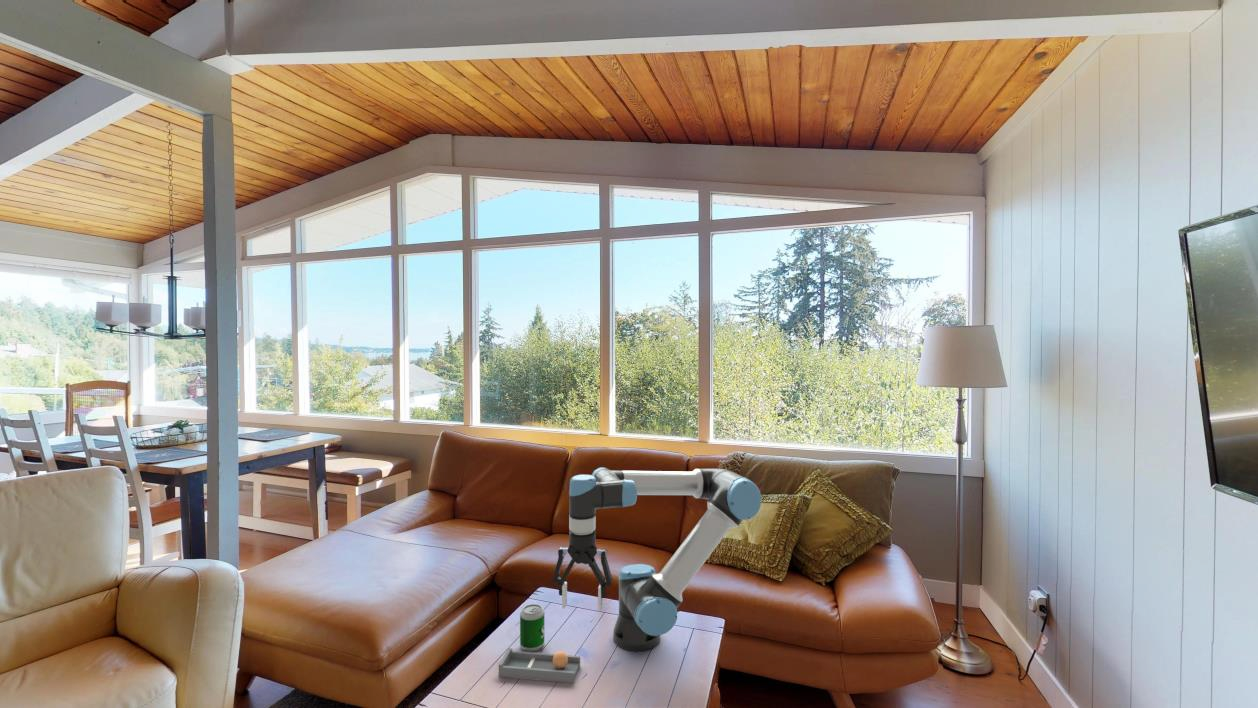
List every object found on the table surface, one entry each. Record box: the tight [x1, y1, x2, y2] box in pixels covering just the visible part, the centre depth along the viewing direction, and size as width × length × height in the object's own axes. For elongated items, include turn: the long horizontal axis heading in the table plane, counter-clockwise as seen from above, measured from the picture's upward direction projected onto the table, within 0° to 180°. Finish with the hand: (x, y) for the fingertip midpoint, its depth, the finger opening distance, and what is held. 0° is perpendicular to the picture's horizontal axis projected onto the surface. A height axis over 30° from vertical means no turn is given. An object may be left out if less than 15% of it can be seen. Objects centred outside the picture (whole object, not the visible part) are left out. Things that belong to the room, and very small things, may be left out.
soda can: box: [519, 603, 545, 653], centre depth 169 cm, size 8×8×12 cm
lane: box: [498, 647, 581, 684], centre depth 157 cm, size 22×8×4 cm, turn 83°
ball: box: [553, 650, 568, 669], centre depth 156 cm, size 4×4×4 cm
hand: (582, 607), depth 155 cm, fingers open, 10 cm apart
